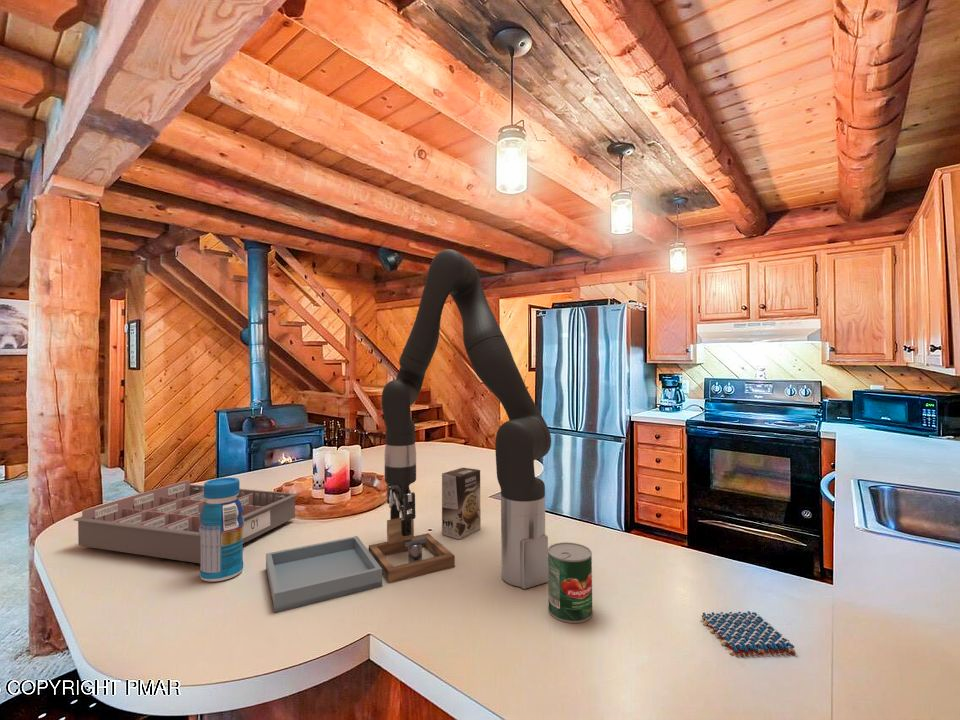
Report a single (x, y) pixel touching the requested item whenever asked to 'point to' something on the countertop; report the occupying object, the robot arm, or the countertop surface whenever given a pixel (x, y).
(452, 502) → the coffee box
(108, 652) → the countertop surface
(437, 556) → the wooden frame with tab
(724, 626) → the woven mat
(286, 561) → the tray
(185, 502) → the organizer tray
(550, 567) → the canned tomato
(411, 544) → the grey metal t-shaped piece
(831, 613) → the countertop surface
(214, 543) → the beverage bottle
